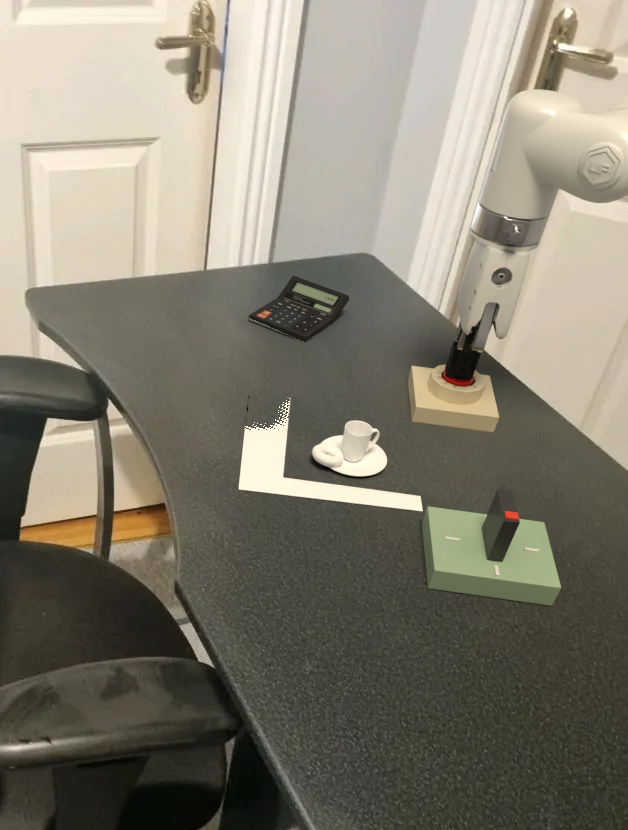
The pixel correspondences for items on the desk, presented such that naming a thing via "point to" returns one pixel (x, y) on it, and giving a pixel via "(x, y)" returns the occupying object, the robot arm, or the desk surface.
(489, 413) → the button base
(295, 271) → the desk surface
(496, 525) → the knob
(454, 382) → the button
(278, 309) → the calculator
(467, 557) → the panel
